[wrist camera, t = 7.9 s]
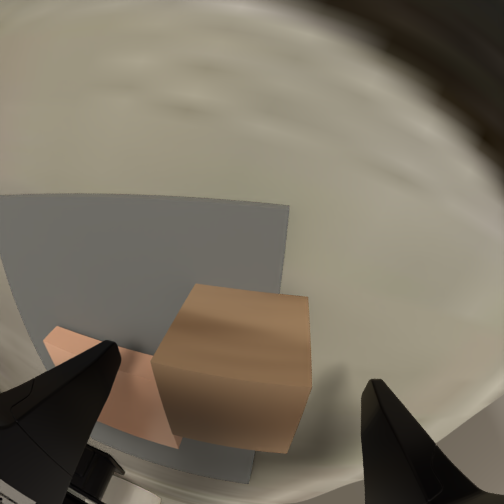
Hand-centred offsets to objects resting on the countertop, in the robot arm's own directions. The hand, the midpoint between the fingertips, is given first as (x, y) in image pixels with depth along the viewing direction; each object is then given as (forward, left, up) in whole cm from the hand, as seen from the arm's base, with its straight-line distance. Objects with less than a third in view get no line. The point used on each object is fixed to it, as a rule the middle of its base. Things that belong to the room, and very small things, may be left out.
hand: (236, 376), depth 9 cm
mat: (-7, +7, -3) cm, 10 cm away
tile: (-9, +7, -1) cm, 12 cm away
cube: (0, 0, -2) cm, 2 cm away
